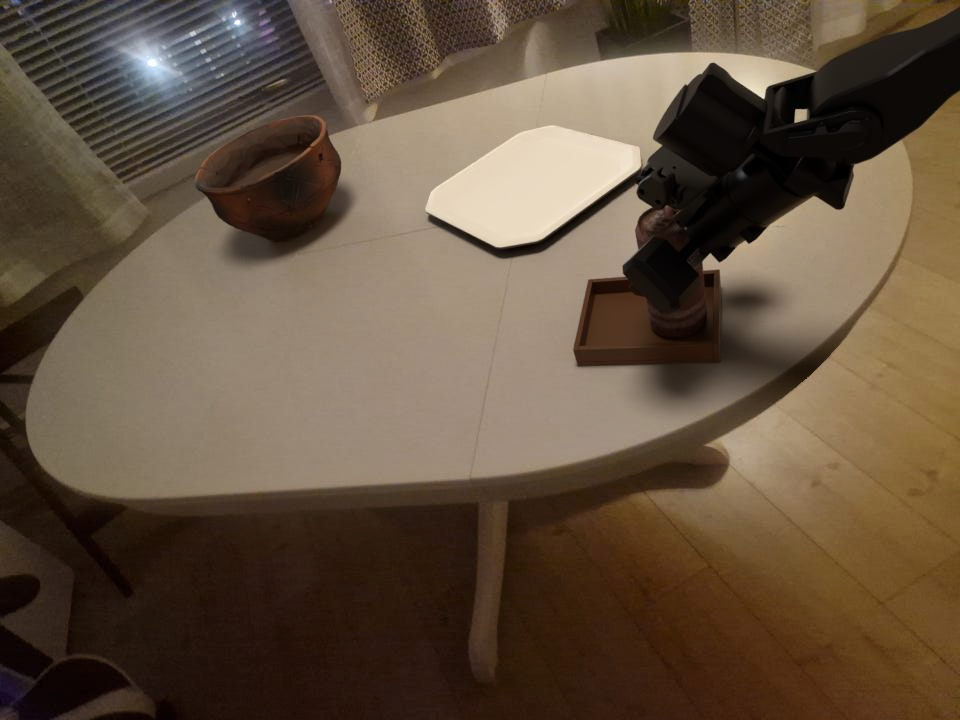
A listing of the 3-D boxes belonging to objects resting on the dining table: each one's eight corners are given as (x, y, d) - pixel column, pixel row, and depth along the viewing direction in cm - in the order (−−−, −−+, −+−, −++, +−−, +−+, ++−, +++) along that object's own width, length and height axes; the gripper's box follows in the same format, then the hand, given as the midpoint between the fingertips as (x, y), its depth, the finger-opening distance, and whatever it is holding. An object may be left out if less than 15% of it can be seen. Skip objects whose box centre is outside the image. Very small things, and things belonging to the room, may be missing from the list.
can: (702, 298, 74) (692, 193, 65) (711, 336, 70) (702, 228, 60) (648, 307, 76) (631, 206, 67) (653, 345, 71) (636, 241, 62)
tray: (720, 286, 76) (719, 269, 74) (720, 362, 68) (718, 344, 66) (591, 295, 81) (588, 279, 80) (577, 365, 73) (572, 349, 72)
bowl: (370, 225, 112) (331, 145, 102) (239, 281, 112) (187, 207, 102) (352, 170, 131) (318, 98, 121) (240, 218, 131) (196, 151, 121)
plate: (415, 213, 110) (410, 202, 109) (540, 130, 118) (537, 119, 116) (520, 268, 90) (516, 256, 88) (663, 164, 98) (661, 150, 96)
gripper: (748, 70, 58) (656, 163, 72) (624, 183, 51) (550, 261, 65) (833, 161, 58) (725, 236, 72) (721, 286, 51) (626, 341, 66)
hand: (658, 265), depth 69 cm, fingers open, 9 cm apart
